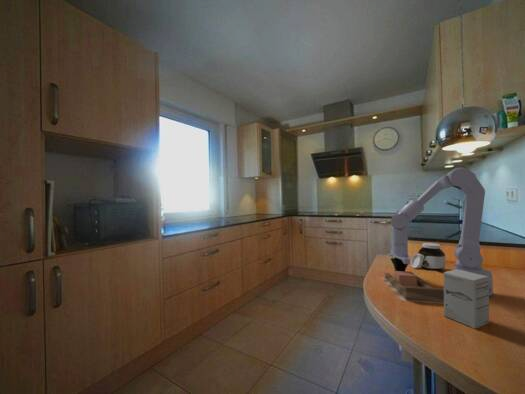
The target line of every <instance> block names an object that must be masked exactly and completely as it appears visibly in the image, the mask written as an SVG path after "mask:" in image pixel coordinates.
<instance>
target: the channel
mask: <svg viewBox="0 0 525 394" xmlns="http://www.w3.org/2000/svg"><path fill="white" fill-rule="evenodd" d="M381 279H382V280H383V281H384V283H385V284H386V285H387V286H388V287H389V288H390V289H391V291H393V293H394V294H395V295H396V296H397V297H398V299H399V300H401V301H402V302H413V303H414V302H416V303H417V302H418V303H428V304H429V303H430V304H431V303H432V304H443V305H444V288H443V287H442V288H441V287H433V286H431V285H430V284H428V283H427V282H426V281H424V280H423V279H421V278H420V277H419V276H417V287H414V286H402V285H401V284H400V283H399V282H398V281H397V280H396V279H395V278H394V276H392V274H391V273H389V272H384V277H383V276H382V277H381Z"/></svg>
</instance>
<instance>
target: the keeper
mask: <svg viewBox="0 0 525 394" xmlns="http://www.w3.org/2000/svg"><path fill="white" fill-rule="evenodd" d="M393 273H394V276H393V278H395V279H396V280H397V281H398V282H399V283H400V284H401V285H402V286H414V287H417V277H418V275H416V274H415V273H414V272H412V271H406V270H405V271H395V270H394V271H393Z"/></svg>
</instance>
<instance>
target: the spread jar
mask: <svg viewBox="0 0 525 394" xmlns="http://www.w3.org/2000/svg"><path fill="white" fill-rule="evenodd" d="M421 245H422V247H421V248H420V249H419V250H418V253H414V254H413V255H412V256H411V257H410V264H409V265H410V266H411V267H412V268H413V269H416V268H417V270H418V269H419V268H422V269H423V268H424V269H423V270H425V269H427V270H426V271H436V272H441V271H443V270H444V269H445V268H446V267H447V265H446V263H447V259H446V253H445V252H444V251H443V250H442V249H441V244H439V243H435V242H433V243H432V242H424V243H422V244H421Z"/></svg>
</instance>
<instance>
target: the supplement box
mask: <svg viewBox="0 0 525 394" xmlns="http://www.w3.org/2000/svg"><path fill="white" fill-rule="evenodd" d="M443 289H444V304H443V316H444V317H445V318H449V319H451V320H454V321H456V322H459V323H461V324H463V325H465V326H468V327H470V328H471V329H475V330H476V329H478V328H480V327H483V326H485V325H488V324H489V323H490V296H489V277H488V276H484V275H479V274H475V273H471V272H467V271H463V270H459V269H455V268H454V269H451V270H447V271H444V272H443Z"/></svg>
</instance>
